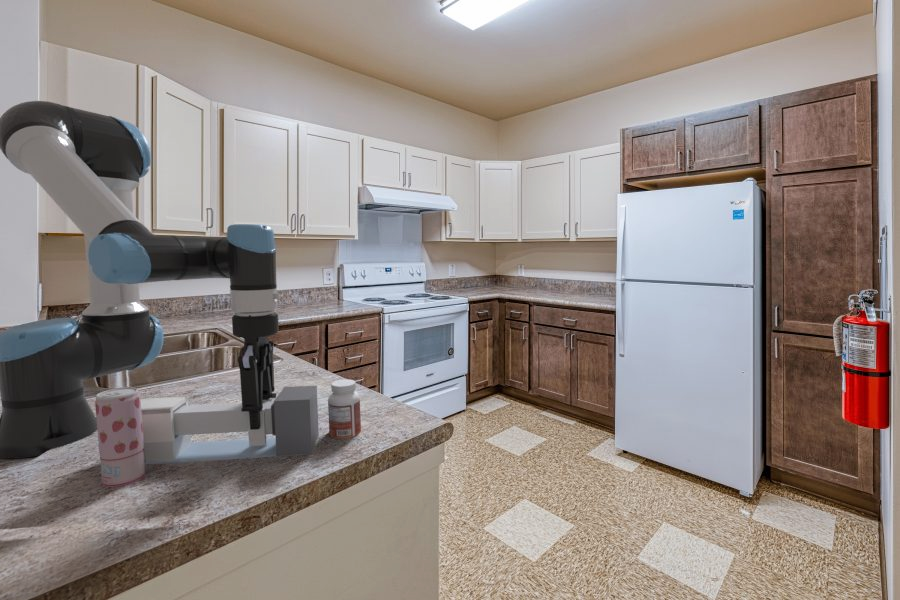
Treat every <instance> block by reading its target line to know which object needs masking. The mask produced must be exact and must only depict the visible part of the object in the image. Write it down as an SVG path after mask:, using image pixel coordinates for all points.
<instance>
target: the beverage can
mask: <svg viewBox="0 0 900 600" xmlns="http://www.w3.org/2000/svg"><path fill="white" fill-rule="evenodd" d="M140 398H141V395H140V393H139V389H138V388H136V387H135V386H134V387H131V386H125V387H124V386H123V387H115V388H112V389H111V388H110V389H108V390H103V391H101V392H99V393H97V394H96V396H95V402H94V406H95V417H96V419H97V430H96V431H97V441H98V451H99V460H100V461H99V462H100V463H99V464H100V472H101V473H100V474H101V482H102V483H101V484H102V485H103V486H104V487H108V488H115V487H122V486H126V485H129V484H132V483H135V482H138V481H139V480H141V479H143V478H144V477H145V476H146V475H147V465H146V459H145V448H144V437H143V425H142V414H141V402H140Z"/></svg>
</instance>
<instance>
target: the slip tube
mask: <svg viewBox="0 0 900 600" xmlns="http://www.w3.org/2000/svg"><path fill="white" fill-rule="evenodd" d="M263 408H265V426H266V430H272V434H271V435H272V436H275V415H274V400H272V401H264V402H263ZM241 409H242V402H224V403H222V402H221V403H206V404H205V403H204V404H188V405H181V406H179V407H178V408H177V409H175V410H174V411H173V420H174V433H175V435H190V436H191V435H209V434H224V433H225V434H226V433H227V434H229V433H241V432H242V433H245V432H248V414H247V411H246V412H242V410H241Z"/></svg>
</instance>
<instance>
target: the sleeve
mask: <svg viewBox="0 0 900 600" xmlns="http://www.w3.org/2000/svg"><path fill="white" fill-rule="evenodd" d="M140 402H141V414H142V425H143V437H144V448H145V459H146V463H147V462H163V461H174V460H176V459H177V458H178V457H179V456H180V455H181V454H182V453H183V452H184V451H185V450H186V449H187V448H188V447H189V446H190V445H191V443H192V439H191V437H192V436H191V435H175V433H174V420H173V411H174V410H175V409H177V408H178V407H179V406H181V405H189V397H188V395H182V396H181V395H179V396H177V395H176V396H175V395H174V396H156V397H140Z"/></svg>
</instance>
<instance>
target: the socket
mask: <svg viewBox="0 0 900 600" xmlns="http://www.w3.org/2000/svg"><path fill="white" fill-rule="evenodd" d="M273 401H274V415H275V435H274V436H275V438H276V456H275V457H287V456H286V455H290V456H303V455H302V454H306V455H312V454H313V451H314V449H315V447H316V443H317V441H318V438H319V436H318V435H319V434H320V433H319V412H318V410H319V407H318V406H319V405H318V404H319V403H318V385H299V386H284V387H283V388H282V390H281V391H280V393H278V395H276V398H274V400H273ZM314 446H315V447H314Z"/></svg>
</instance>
